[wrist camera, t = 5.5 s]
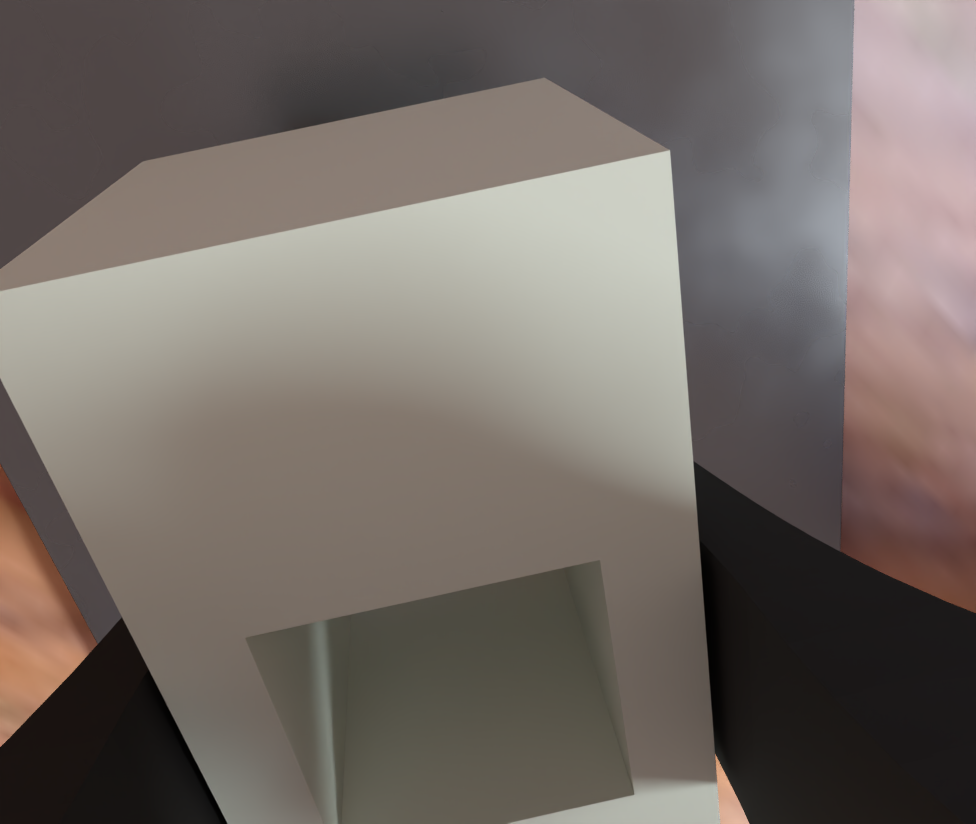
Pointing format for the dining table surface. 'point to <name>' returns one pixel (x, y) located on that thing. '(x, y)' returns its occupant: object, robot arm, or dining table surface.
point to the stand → (467, 69)
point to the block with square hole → (391, 461)
